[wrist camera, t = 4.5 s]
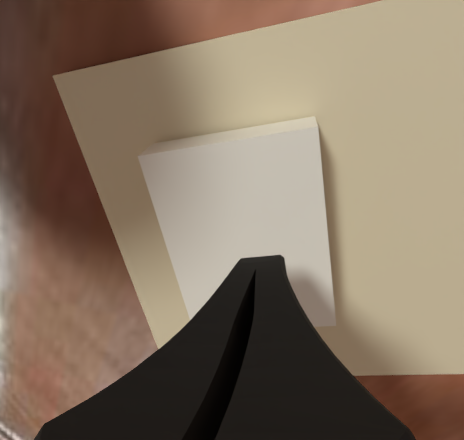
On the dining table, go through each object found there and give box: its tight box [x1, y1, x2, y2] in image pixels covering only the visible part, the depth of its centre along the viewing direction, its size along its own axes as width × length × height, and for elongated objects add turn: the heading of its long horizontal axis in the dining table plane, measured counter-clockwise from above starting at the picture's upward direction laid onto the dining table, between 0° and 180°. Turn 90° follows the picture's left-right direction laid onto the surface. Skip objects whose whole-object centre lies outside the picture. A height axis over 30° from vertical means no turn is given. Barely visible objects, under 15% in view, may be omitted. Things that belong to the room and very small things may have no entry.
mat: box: [53, 0, 464, 376], centre depth 15 cm, size 18×16×1 cm
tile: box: [138, 116, 336, 327], centre depth 14 cm, size 2×8×6 cm
